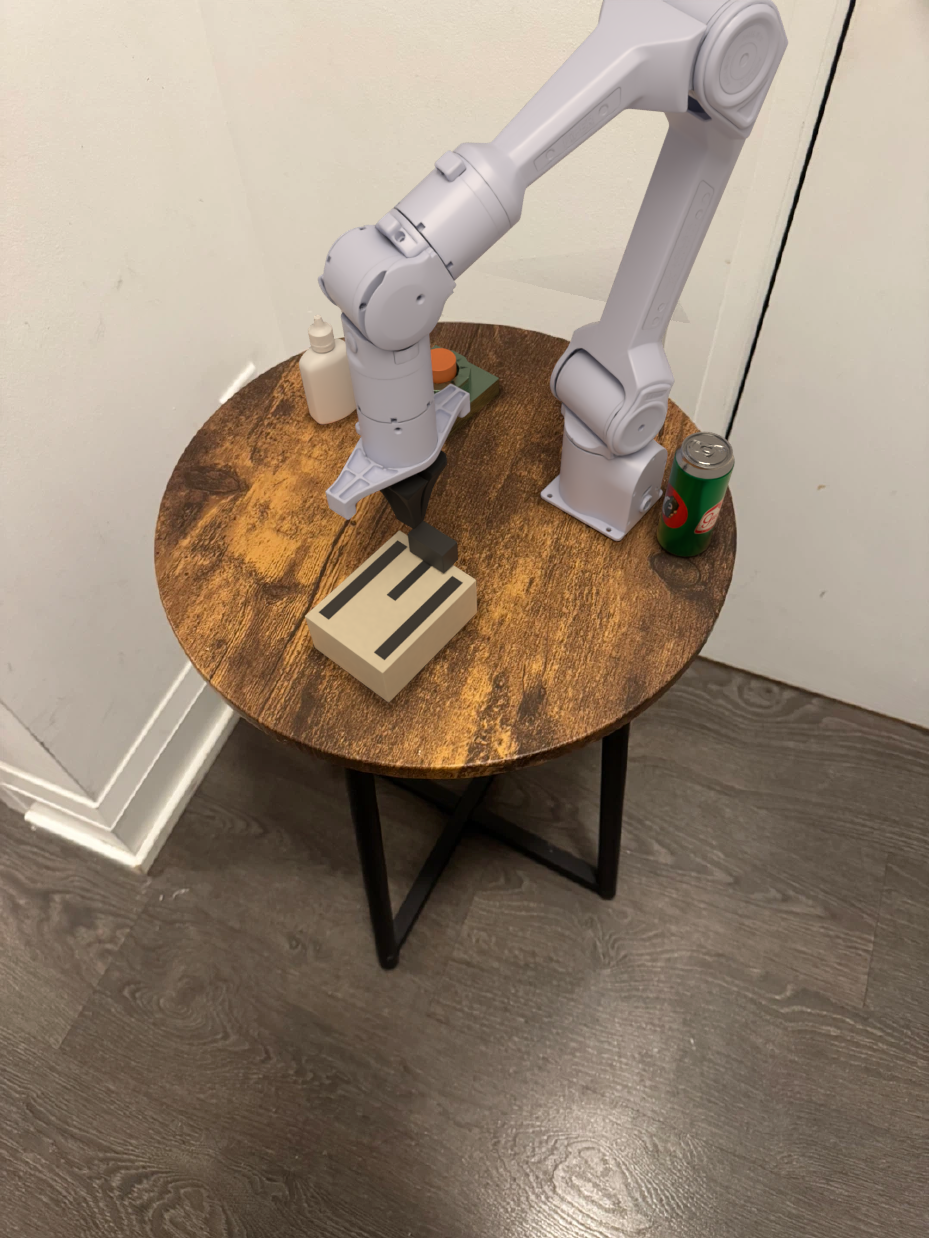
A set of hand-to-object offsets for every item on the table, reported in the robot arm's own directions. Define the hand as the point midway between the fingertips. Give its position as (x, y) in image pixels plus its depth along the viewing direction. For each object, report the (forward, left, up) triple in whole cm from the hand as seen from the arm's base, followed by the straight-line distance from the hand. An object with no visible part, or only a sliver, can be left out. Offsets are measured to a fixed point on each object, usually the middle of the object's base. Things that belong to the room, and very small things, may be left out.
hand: (410, 519), depth 75 cm
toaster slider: (-2, -1, -4) cm, 5 cm away
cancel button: (+15, -20, -6) cm, 26 cm away
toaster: (-2, +5, -9) cm, 11 cm away
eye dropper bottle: (+23, -12, -10) cm, 27 cm away
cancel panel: (+15, -20, -9) cm, 27 cm away
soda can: (-16, -20, -10) cm, 27 cm away
